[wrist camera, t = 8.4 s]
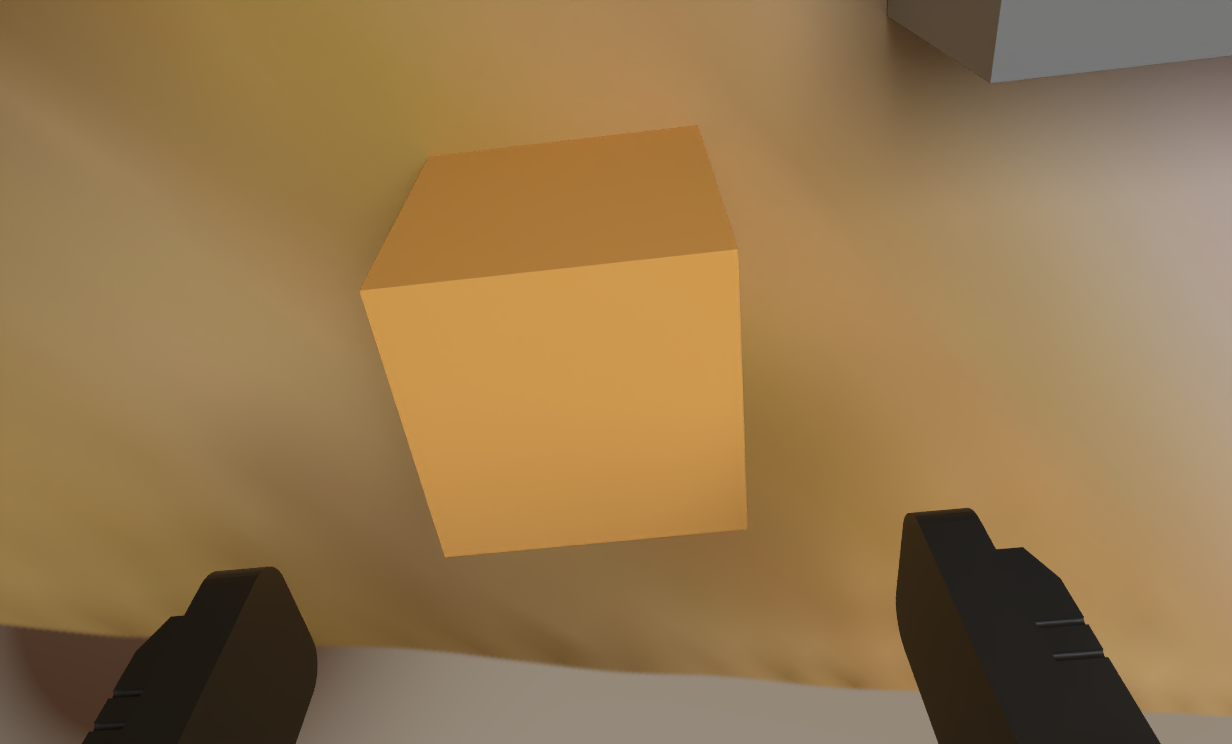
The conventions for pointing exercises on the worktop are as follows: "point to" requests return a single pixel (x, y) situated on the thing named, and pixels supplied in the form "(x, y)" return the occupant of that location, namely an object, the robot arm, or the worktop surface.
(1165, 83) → the worktop surface
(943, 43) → the grey square block
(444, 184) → the orange matte cube
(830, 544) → the worktop surface
